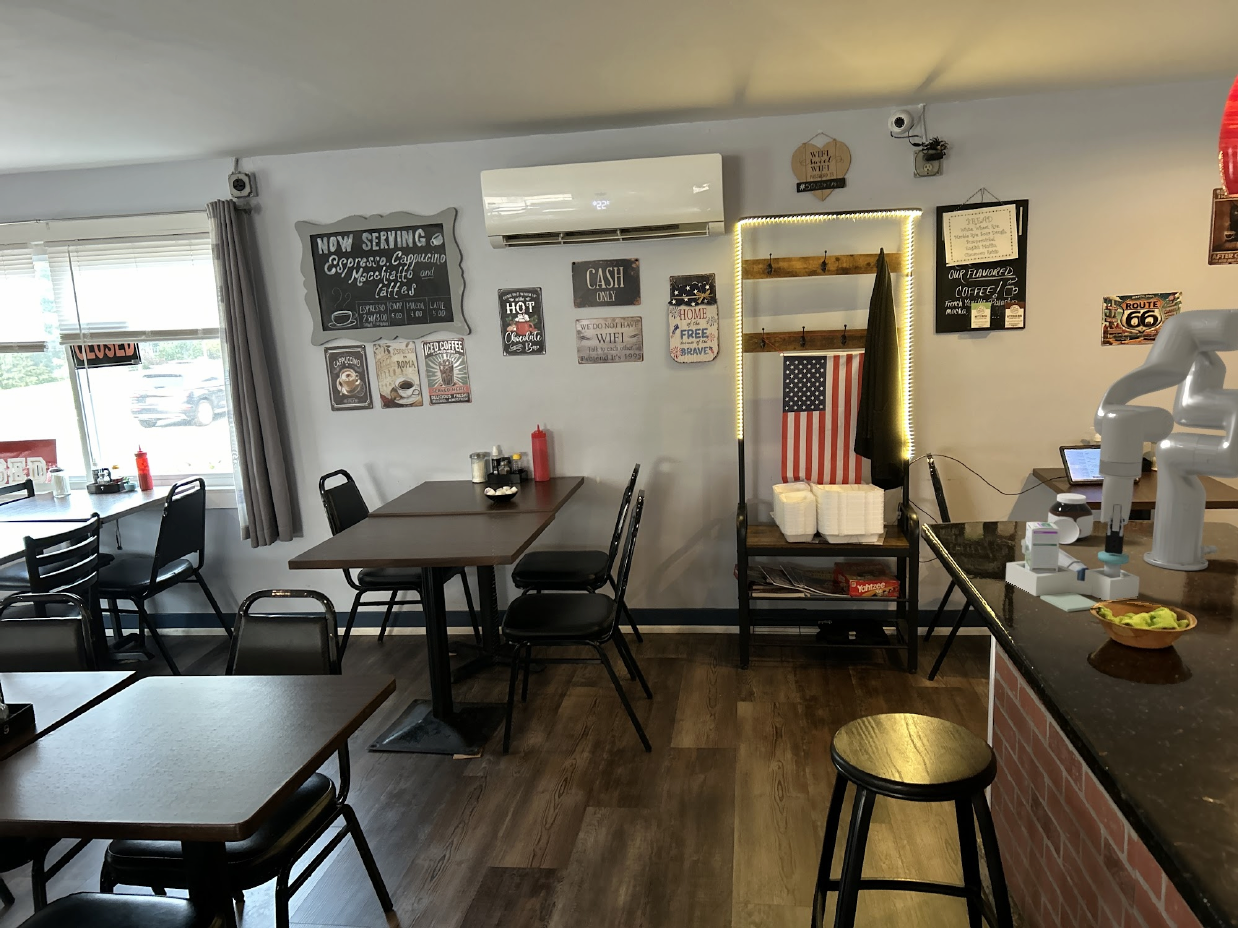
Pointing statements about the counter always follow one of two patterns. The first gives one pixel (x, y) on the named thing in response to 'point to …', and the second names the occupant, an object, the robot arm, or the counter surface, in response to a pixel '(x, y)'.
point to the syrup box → (1042, 547)
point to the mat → (1069, 601)
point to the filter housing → (1073, 582)
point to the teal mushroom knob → (1113, 563)
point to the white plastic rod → (1067, 562)
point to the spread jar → (1071, 517)
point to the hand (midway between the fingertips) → (1113, 552)
